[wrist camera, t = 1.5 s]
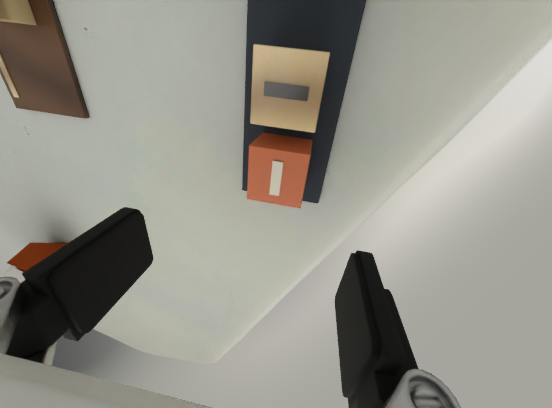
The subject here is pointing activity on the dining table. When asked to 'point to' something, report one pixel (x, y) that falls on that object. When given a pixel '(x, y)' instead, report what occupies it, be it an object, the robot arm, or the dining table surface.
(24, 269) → the potion bottle
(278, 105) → the tan block
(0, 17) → the far letter i
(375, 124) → the dining table surface
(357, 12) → the near mat
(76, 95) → the far board
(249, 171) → the orange striped cube
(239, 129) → the dining table surface
